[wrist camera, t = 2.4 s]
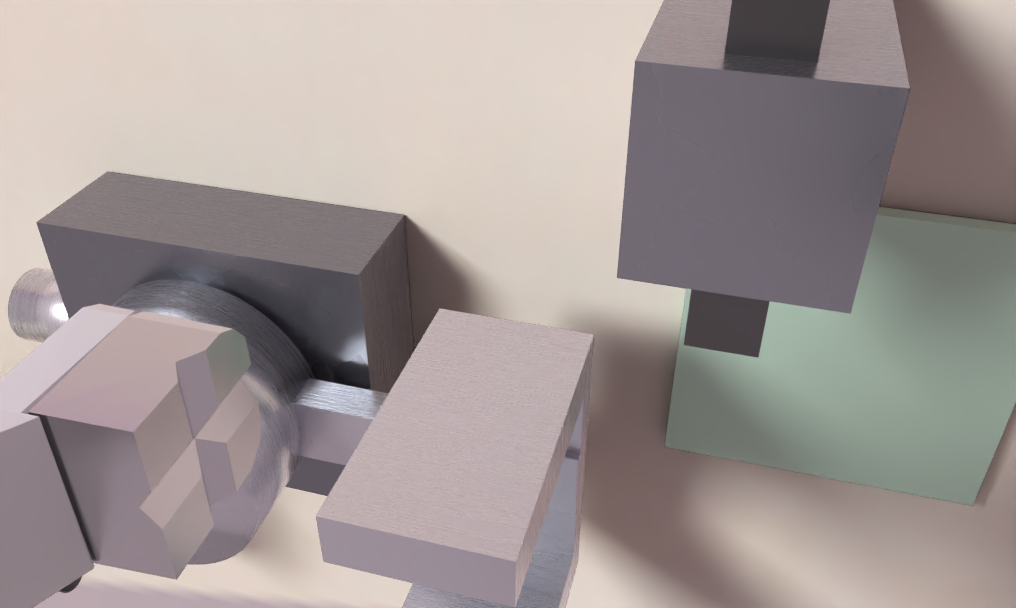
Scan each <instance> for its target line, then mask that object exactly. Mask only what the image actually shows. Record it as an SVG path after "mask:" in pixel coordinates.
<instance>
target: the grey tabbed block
mask: <svg viewBox="0 0 1016 608" xmlns="http://www.w3.org/2000/svg"><path fill="white" fill-rule="evenodd" d="M909 91H910V85H909V80H908V75H907V70H906V64H905V59H904V54H903V49H902V44H901V39H900V33H899V28H898V23H897V18H896V13H895V8H894V2H893V0H664V1H663V4H662V6H661V8H660V10H659V12H658V14H657V16H656V18H655V20H654V22H653V25H652V27H651V29H650V31H649V33H648V35H647V37H646V39H645V41H644V44H643V46H642V48H641V50H640V52H639V54H638V56H637V58H636V60H635V70H634V82H633V93H632V105H631V117H630V129H629V141H628V153H627V165H626V177H625V188H624V200H623V212H622V224H621V236H620V248H619V260H618V272H617V278H621V279H628V280H634V281H641V282H647V283H654V284H660V285H667V286H673V287H680V288H686V289H691V295H690V302H689V309H688V317H687V324H686V331H685V338H684V345H685V346H691V347H697V348H703V349H709V350H715V351H721V352H727V353H733V354H739V355H745V356H751V357H757V358H758V357H759V352H760V347H761V342H762V337H763V332H764V327H765V322H766V317H767V312H768V307H769V302H770V301H771V302H777V303H784V304H790V305H797V306H803V307H810V308H816V309H823V310H829V311H836V312H842V313H849V314H851V310H852V306H853V303H854V299H855V295H856V291H857V288H858V284H859V280H860V276H861V272H862V269H863V265H864V261H865V257H866V254H867V250H868V246H869V242H870V238H871V235H872V231H873V227H874V223H875V220H876V216H877V212H878V208H879V204H880V201H881V197H882V193H883V189H884V186H885V182H886V178H887V174H888V170H889V167H890V163H891V159H892V155H893V152H894V148H895V144H896V140H897V136H898V133H899V129H900V125H901V121H902V118H903V114H904V110H905V106H906V102H907V99H908V95H909Z"/></svg>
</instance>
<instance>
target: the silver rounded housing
mask: <svg viewBox="0 0 1016 608" xmlns="http://www.w3.org/2000/svg"><path fill="white" fill-rule="evenodd" d="M112 306H114V307H119V308H124V309H129V310H135V311H138V312H149V313H155V314H160V315H165V316H170V317H175V318H180V319H186V320H191V321H196V322H201V323H206V324H212V325H217V326H222V327H227V328H232V329H234V330H236V331H237V332H239V333H240V334H242V335H243V336H245V340H246V344H247V348H248V352H249V357H250V361H251V365H250V367H249V368H248V369H247V371H246V372H245V373H244V375H243V376H242V378H241V379H240V380H241V381H242V382H243V383H244V384H245V385H246V387H247V388H248V389H249V390H250V391H251V392H252V394H253V395H254V396H255V397H256V398H257V399H258V403H259V409H260V415H261V434H260V444H259V447H258V450H257V453H256V456H255V459H254V462H253V465H252V468H251V471H250V472H249V474H248V475H247V477H246V478H245V480H244V481H243V483H242V485H241V486H240V488H239V489H238V491H237V492H236V493H234V494H232V495H230V496H228V497H226V498H224V499H222V500H220V501H219V502H217V503H215V504H213V505H211V512H212V518H213V525H214V526H213V528H212V529H211V530H210V532H209V533H208V535H207V536H206V538H205V539H204V541H203V542H202V544H201V545H200V546H199V548H198V549H197V551H196V552H195V554H194V555H193V557H192V558H191V560H190V561H189V562H188V564H210V563H216V562H220V561H223V560H226V559H228V558H230V557H232V556H234V555H236V554H237V553H239V552H240V551H241V550H242V549H243V548H244V547H245V546H246V545H247V544H248V543H249V541H250V540H251V538H252V537H253V535H254V534H255V532H256V531H257V529H258V527H259V526H260V524H261V523H262V521H263V520H264V518H265V517H266V515H267V514H268V512H269V511H270V509H271V508H272V506H273V505H274V503H275V501H276V500H277V498H278V497H279V495H280V494H281V492H282V491H283V489H284V488H285V486H286V485H287V483H288V482H289V480H290V479H291V477H292V475H293V474H294V472H295V471H296V469H297V468H298V466H299V465H300V463H301V462H302V460H303V459H304V457H308V458H313V459H318V460H322V461H327V462H332V463H337V464H341V465H346V466H345V468H344V470H343V471H342V473H341V475H340V476H339V478H338V480H337V481H336V483H335V485H334V486H333V488H332V490H331V491H330V493H329V495H328V497H327V498H326V500H325V502H324V503H323V505H322V507H321V508H320V510H319V512H318V513H317V515H316V520H317V526H318V532H319V538H320V544H321V550H322V556H323V561H324V562H327V563H331V564H335V565H339V566H344V567H348V568H352V569H356V570H360V571H365V572H369V573H373V574H377V575H381V576H385V577H390V578H394V579H398V580H402V581H406V582H410V583H413V584H412V587H411V589H410V591H409V593H408V596H407V598H406V600H405V602H404V605H403V607H402V608H565V607H566V604H567V600H568V597H569V593H570V589H571V586H572V582H573V578H574V575H575V571H576V568H577V564H578V556H579V542H580V528H581V513H582V499H583V485H584V471H585V456H586V442H587V428H588V414H589V399H590V385H591V371H592V357H593V342H594V334H589V333H583V332H577V331H571V330H565V329H559V328H554V327H548V326H542V325H536V324H530V323H524V322H518V321H512V320H506V319H500V318H494V317H488V316H482V315H476V314H470V313H464V312H459V311H453V310H447V309H441V308H439V310H438V312H437V313H436V315H435V317H434V319H433V320H432V322H431V324H430V325H429V327H428V329H427V330H426V332H425V334H424V335H423V337H422V339H421V340H420V342H419V344H418V345H417V347H416V349H415V350H414V352H413V354H412V355H411V357H410V359H409V360H408V362H407V364H406V366H405V367H404V369H403V371H402V372H401V374H400V376H399V377H398V379H397V381H396V382H395V384H394V386H393V387H392V389H391V391H390V392H389V393H384V392H378V391H373V390H368V389H363V388H358V387H352V386H347V385H342V384H337V383H332V382H326V381H321V380H316V379H315V376H314V374H313V372H312V370H311V368H310V366H309V365H308V363H307V361H306V360H305V358H304V357H303V355H302V354H301V352H300V351H299V349H298V348H297V347H296V346H295V344H294V343H293V342H292V341H291V339H290V338H289V337H288V336H287V335H286V334H285V333H284V332H283V331H282V330H281V329H280V328H279V327H278V326H277V325H276V324H275V323H274V322H272V321H271V320H270V319H269V318H268V317H266V316H265V315H264V314H263V313H261V312H260V311H258V310H257V309H255V308H254V307H253V306H251V305H250V304H248V303H246V302H244V301H243V300H241V299H239V298H237V297H236V296H233V295H231V294H229V293H227V292H225V291H223V290H220V289H217V288H214V287H212V286H209V285H206V284H202V283H197V282H193V281H187V280H178V279H162V280H155V281H149V282H146V283H143V284H140V285H138V286H136V287H134V288H132V289H131V290H129V291H128V292H126V293H125V294H124V295H123V296H122V297H121V298H119V299H118V300H117V301H116V302H115V303H114V304H113V305H112Z"/></svg>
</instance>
